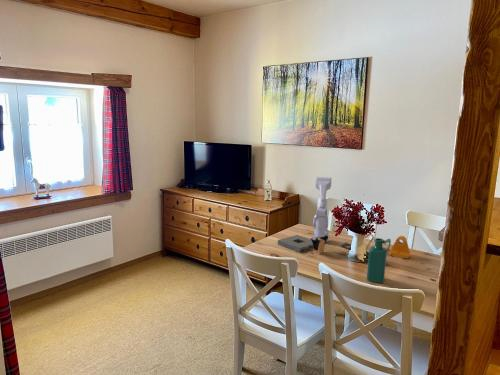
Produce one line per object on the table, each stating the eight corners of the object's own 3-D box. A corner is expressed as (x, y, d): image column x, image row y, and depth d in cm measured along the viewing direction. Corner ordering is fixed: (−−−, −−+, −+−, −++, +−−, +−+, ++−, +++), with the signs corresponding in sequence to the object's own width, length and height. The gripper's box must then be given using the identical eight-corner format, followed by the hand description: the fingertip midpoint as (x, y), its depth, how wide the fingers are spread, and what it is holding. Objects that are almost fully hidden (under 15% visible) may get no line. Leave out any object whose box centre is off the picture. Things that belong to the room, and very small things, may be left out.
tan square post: (318, 250, 238) (319, 238, 236) (323, 252, 234) (324, 240, 233) (313, 252, 235) (314, 239, 233) (319, 254, 232) (320, 241, 230)
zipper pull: (345, 241, 236) (386, 251, 220) (344, 252, 237) (385, 262, 222) (339, 245, 229) (380, 255, 213) (338, 255, 230) (379, 266, 215)
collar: (297, 239, 259) (297, 234, 258) (318, 246, 245) (319, 242, 244) (277, 244, 246) (277, 240, 246) (299, 252, 233) (299, 248, 232)
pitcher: (366, 281, 195) (369, 240, 191) (367, 274, 203) (371, 235, 199) (386, 284, 192) (390, 242, 187) (386, 278, 199) (390, 238, 195)
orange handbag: (388, 255, 232) (390, 237, 230) (391, 252, 238) (393, 234, 236) (407, 259, 227) (409, 240, 225) (409, 256, 233) (411, 237, 231)
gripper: (321, 223, 240) (319, 244, 242) (308, 228, 229) (307, 249, 231) (331, 226, 235) (329, 246, 238) (318, 230, 224) (317, 252, 227)
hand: (319, 248), depth 234 cm, fingers open, 7 cm apart
